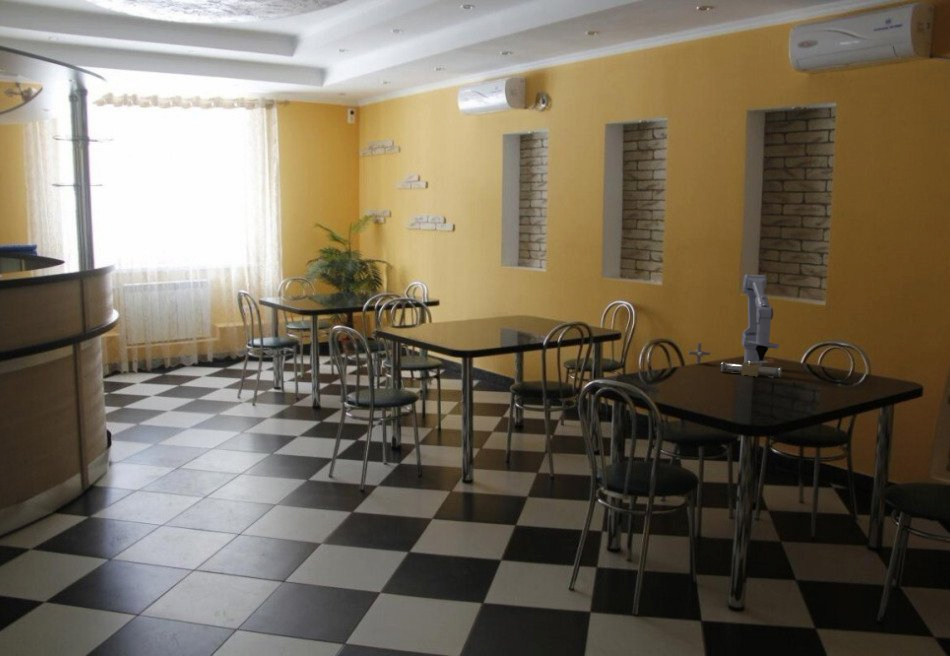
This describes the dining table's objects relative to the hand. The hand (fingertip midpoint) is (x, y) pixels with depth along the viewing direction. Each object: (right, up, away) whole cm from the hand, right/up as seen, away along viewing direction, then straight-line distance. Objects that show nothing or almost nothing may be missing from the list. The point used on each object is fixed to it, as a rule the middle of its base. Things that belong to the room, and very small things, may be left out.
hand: (761, 362), depth 392 cm
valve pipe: (-6, -6, -4) cm, 9 cm away
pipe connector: (-23, -2, +23) cm, 32 cm away
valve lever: (-1, 0, -2) cm, 2 cm away
